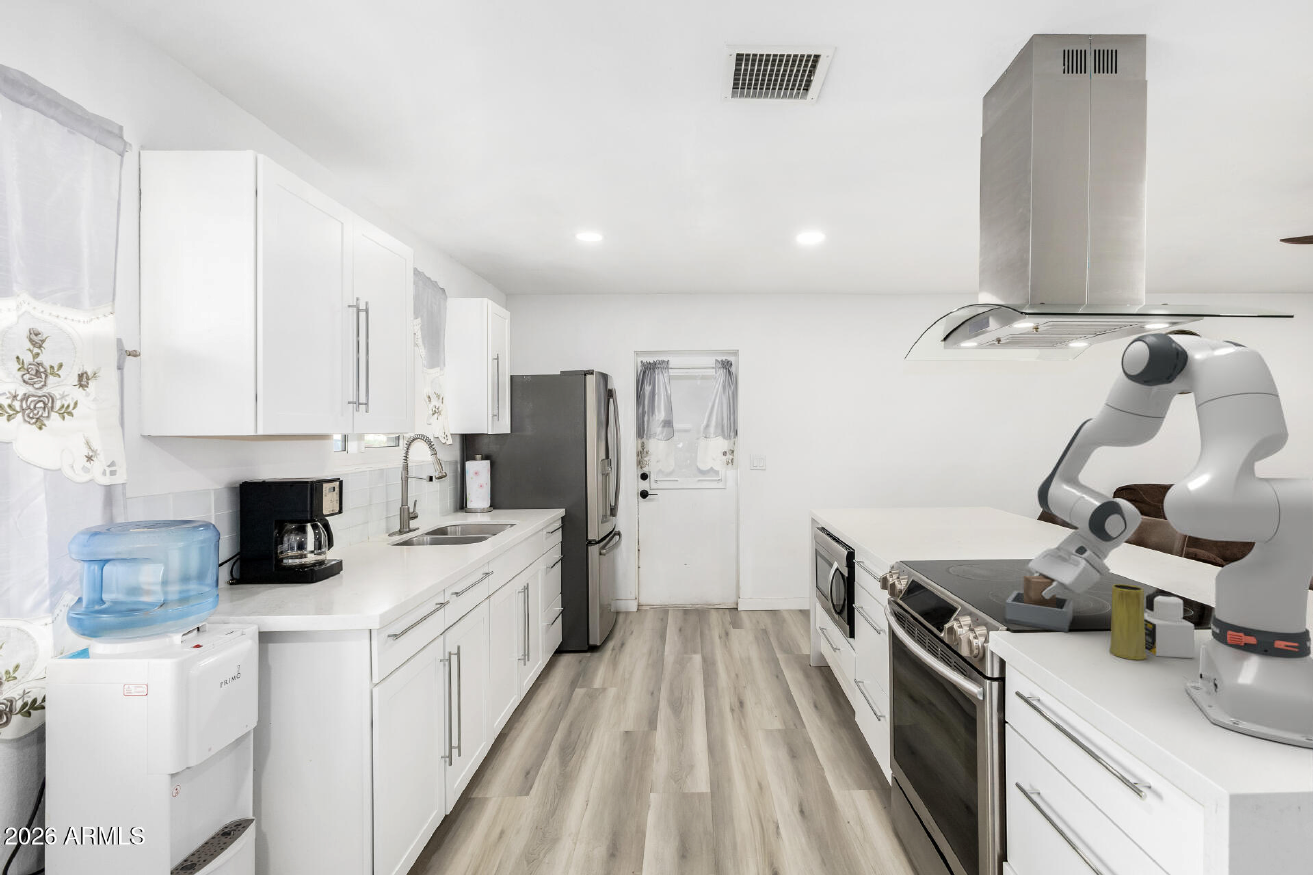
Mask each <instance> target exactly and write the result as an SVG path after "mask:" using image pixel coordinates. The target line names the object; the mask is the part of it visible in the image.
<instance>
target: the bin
mask: <svg viewBox="0 0 1313 875" xmlns="http://www.w3.org/2000/svg"><path fill="white" fill-rule="evenodd" d="M1073 604H1074V603H1073V598H1067V597H1062V596H1055V608H1050V607H1043V606H1036V605H1030V604H1024V591H1018V590H1014V591H1013V592H1012V593H1011V594H1010V596H1009V597H1008V598H1007V599H1006V601H1005V623H1008V624H1014V623H1015V624H1014V625H1020V626H1025V627H1026V626H1027V627H1033V628H1036V629H1037V628H1039V629H1042V630H1043V629H1045V630H1052V631H1056V632H1062V633H1069V630H1070V627H1071V624H1072V622H1073V619H1074V618H1073V616H1074V615H1073V607H1074V606H1073ZM1072 618H1073V619H1072ZM1071 621H1072V622H1071ZM1070 623H1071V624H1070ZM1069 626H1070V627H1069Z"/></svg>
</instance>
